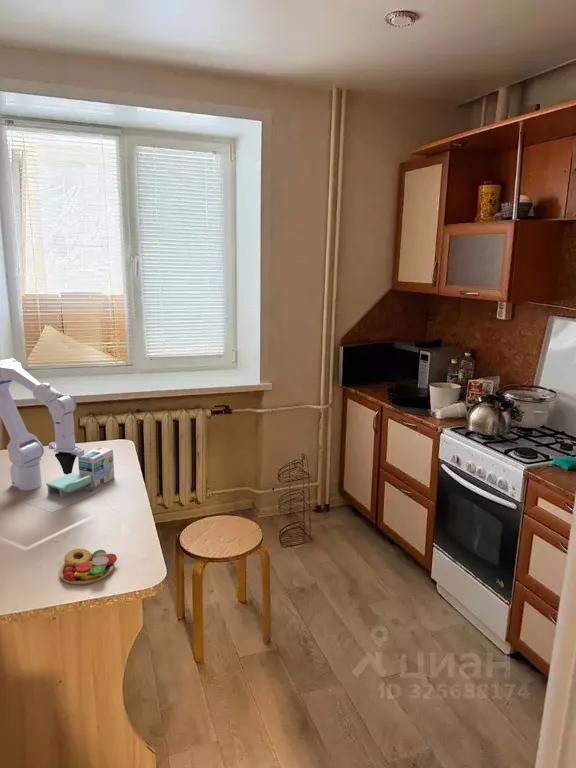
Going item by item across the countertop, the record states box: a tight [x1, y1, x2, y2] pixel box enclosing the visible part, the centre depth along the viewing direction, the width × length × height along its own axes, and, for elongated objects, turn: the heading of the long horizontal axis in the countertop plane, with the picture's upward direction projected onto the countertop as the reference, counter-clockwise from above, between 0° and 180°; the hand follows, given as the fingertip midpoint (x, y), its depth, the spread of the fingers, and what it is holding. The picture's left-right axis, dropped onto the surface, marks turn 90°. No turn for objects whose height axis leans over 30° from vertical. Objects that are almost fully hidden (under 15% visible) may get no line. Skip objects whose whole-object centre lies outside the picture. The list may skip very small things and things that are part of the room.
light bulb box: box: [77, 446, 115, 487], centre depth 187 cm, size 11×7×11 cm, turn 160°
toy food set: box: [58, 548, 118, 586], centre depth 135 cm, size 13×13×3 cm
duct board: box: [24, 482, 100, 513], centre depth 174 cm, size 13×18×4 cm
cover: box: [45, 472, 94, 492], centre depth 176 cm, size 11×10×2 cm
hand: (68, 473), depth 175 cm, fingers closed
